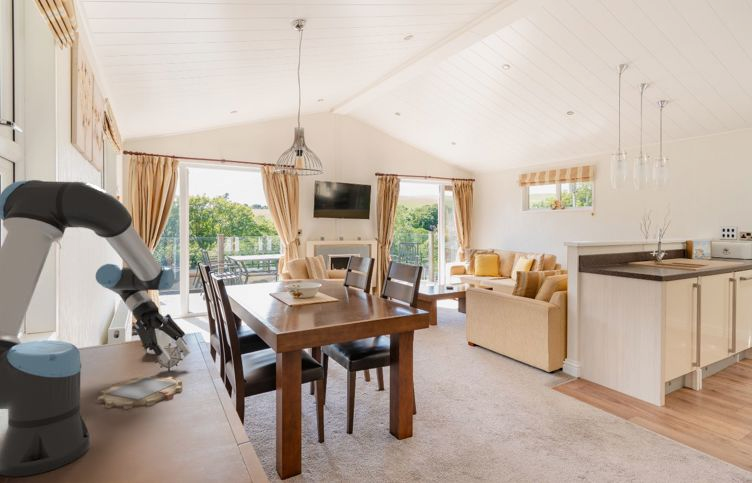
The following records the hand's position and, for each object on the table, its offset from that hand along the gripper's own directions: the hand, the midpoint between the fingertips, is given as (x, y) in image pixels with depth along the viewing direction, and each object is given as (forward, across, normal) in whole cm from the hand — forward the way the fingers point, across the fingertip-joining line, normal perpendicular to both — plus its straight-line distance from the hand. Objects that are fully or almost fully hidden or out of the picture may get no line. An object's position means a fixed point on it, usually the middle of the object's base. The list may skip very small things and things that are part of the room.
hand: (178, 357), depth 136 cm
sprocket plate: (+7, +18, 0) cm, 19 cm away
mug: (-13, -14, -20) cm, 28 cm away
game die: (+1, +1, -5) cm, 5 cm away
